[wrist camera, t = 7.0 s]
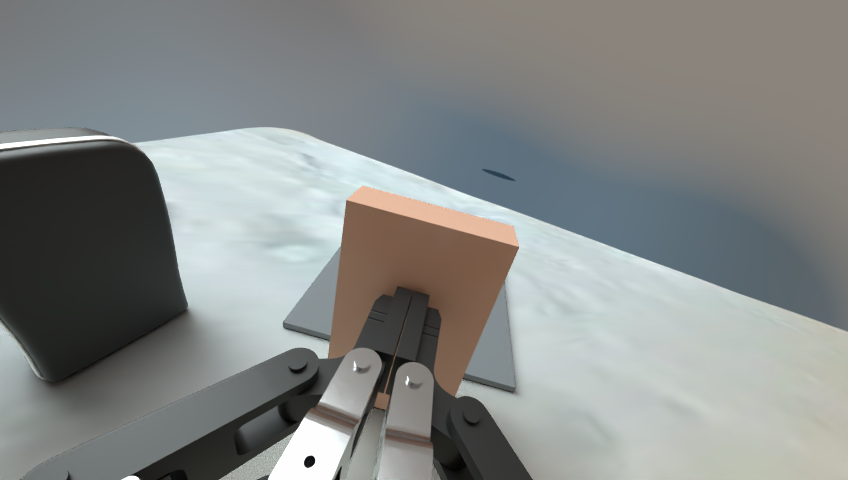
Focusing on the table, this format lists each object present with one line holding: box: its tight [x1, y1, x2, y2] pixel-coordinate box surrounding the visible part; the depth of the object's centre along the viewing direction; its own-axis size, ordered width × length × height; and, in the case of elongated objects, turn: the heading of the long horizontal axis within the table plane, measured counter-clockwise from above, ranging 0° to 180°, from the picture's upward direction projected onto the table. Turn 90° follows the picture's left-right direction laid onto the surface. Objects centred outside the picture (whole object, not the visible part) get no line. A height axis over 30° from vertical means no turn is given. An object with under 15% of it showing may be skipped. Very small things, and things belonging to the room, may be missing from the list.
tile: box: [328, 186, 519, 410], centre depth 16 cm, size 2×7×12 cm, turn 81°
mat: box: [283, 246, 516, 392], centre depth 27 cm, size 15×16×1 cm
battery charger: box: [0, 127, 188, 382], centre depth 15 cm, size 7×4×11 cm, turn 155°
